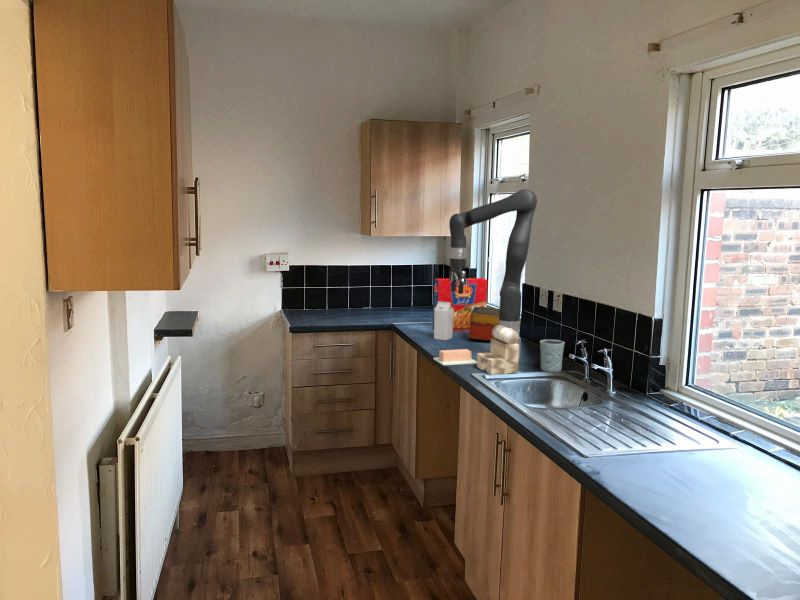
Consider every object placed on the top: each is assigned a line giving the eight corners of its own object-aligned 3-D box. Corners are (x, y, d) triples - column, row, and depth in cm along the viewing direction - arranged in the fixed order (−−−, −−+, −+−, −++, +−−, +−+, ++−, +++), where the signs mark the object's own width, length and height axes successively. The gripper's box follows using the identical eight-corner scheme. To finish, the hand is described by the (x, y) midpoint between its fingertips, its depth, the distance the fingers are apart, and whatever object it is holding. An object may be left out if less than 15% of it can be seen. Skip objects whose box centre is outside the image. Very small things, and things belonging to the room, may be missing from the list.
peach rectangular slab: (466, 357, 300) (466, 349, 299) (471, 360, 295) (471, 351, 295) (439, 359, 296) (439, 350, 296) (443, 362, 291) (443, 352, 291)
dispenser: (502, 365, 290) (504, 324, 287) (517, 373, 276) (519, 330, 274) (476, 367, 286) (478, 325, 283) (491, 375, 273) (492, 331, 270)
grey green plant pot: (545, 372, 278) (547, 344, 276) (534, 367, 288) (535, 339, 286) (567, 371, 281) (569, 343, 279) (555, 366, 291) (556, 338, 289)
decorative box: (473, 336, 357) (471, 305, 355) (514, 335, 351) (513, 304, 348) (465, 345, 338) (462, 313, 336) (509, 345, 331) (507, 312, 329)
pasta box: (437, 331, 364) (438, 280, 360) (432, 329, 371) (433, 278, 367) (485, 330, 371) (487, 279, 367) (480, 327, 379) (481, 278, 375)
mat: (466, 357, 304) (466, 355, 304) (477, 363, 293) (477, 362, 292) (433, 359, 299) (433, 357, 299) (443, 365, 288) (443, 364, 288)
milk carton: (440, 336, 350) (441, 300, 347) (452, 338, 346) (453, 301, 344) (433, 339, 344) (434, 302, 341) (446, 340, 340) (447, 303, 337)
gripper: (471, 258, 304) (470, 294, 306) (459, 256, 317) (458, 290, 319) (456, 258, 301) (455, 294, 304) (444, 256, 315) (443, 290, 317)
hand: (456, 292), depth 312 cm, fingers open, 8 cm apart
